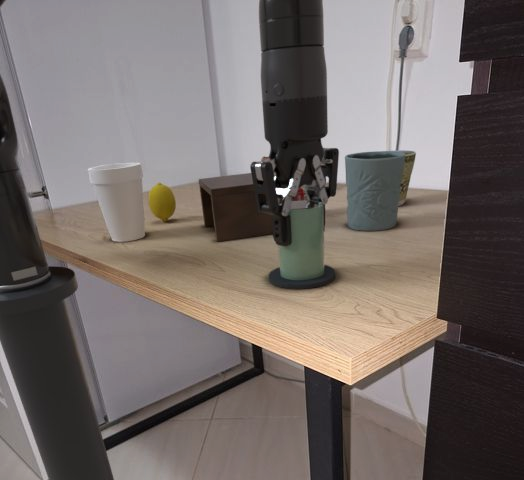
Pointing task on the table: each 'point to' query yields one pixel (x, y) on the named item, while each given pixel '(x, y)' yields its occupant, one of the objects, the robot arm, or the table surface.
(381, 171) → the embossed teal tumbler
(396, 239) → the table surface
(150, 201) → the lemon
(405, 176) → the ceramic cup
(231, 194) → the shelf
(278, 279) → the coaster
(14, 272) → the robot arm
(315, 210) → the cup
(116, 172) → the foam cup
